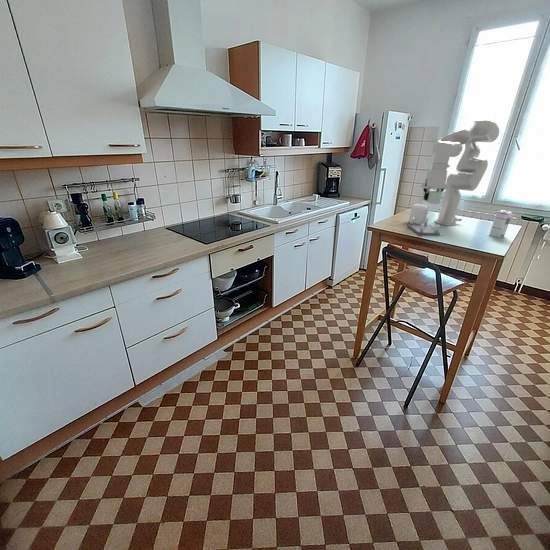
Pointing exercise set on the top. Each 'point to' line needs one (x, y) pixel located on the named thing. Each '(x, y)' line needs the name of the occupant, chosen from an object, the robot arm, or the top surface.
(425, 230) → the standoff plate
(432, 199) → the green block
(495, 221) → the syrup box
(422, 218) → the photo printer
